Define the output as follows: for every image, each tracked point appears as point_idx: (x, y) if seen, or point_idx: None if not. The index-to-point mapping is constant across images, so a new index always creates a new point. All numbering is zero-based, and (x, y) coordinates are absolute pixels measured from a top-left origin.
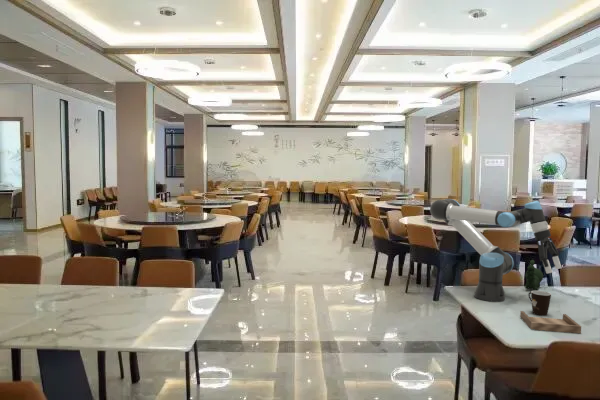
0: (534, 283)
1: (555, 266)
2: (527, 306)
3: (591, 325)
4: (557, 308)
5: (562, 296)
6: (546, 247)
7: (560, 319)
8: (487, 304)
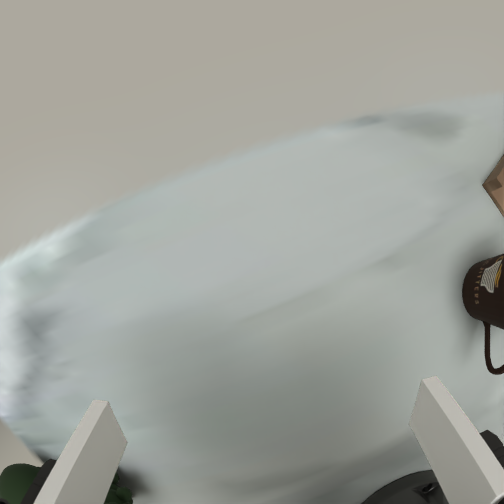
0: (118, 490)
1: (117, 462)
2: None
3: (448, 108)
4: (344, 286)
5: (83, 360)
6: None
7: (498, 196)
8: None
